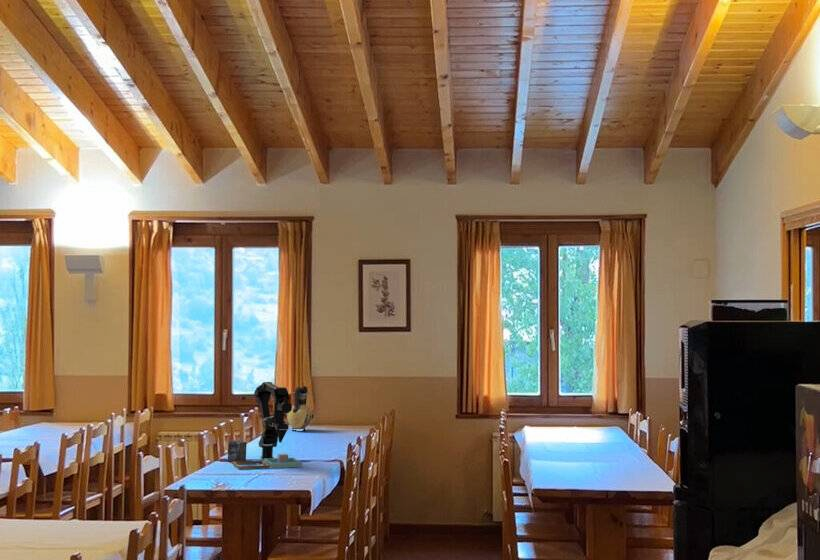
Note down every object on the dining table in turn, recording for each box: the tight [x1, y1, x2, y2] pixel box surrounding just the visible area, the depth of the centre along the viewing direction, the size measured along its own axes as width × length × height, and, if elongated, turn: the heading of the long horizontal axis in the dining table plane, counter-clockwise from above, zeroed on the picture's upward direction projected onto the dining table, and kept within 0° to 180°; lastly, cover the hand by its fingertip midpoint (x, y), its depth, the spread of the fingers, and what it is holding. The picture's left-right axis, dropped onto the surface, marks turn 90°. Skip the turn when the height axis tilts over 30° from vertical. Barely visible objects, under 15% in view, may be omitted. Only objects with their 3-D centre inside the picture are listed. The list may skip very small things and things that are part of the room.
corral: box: [231, 460, 270, 470], centre depth 441 cm, size 16×16×2 cm
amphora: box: [286, 385, 313, 430], centre depth 590 cm, size 18×17×30 cm
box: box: [227, 440, 247, 463], centre depth 454 cm, size 8×6×11 cm
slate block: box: [276, 453, 289, 463], centre depth 447 cm, size 4×4×5 cm
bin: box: [263, 457, 303, 469], centre depth 447 cm, size 16×16×2 cm
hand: (277, 441), depth 456 cm, fingers open, 9 cm apart
